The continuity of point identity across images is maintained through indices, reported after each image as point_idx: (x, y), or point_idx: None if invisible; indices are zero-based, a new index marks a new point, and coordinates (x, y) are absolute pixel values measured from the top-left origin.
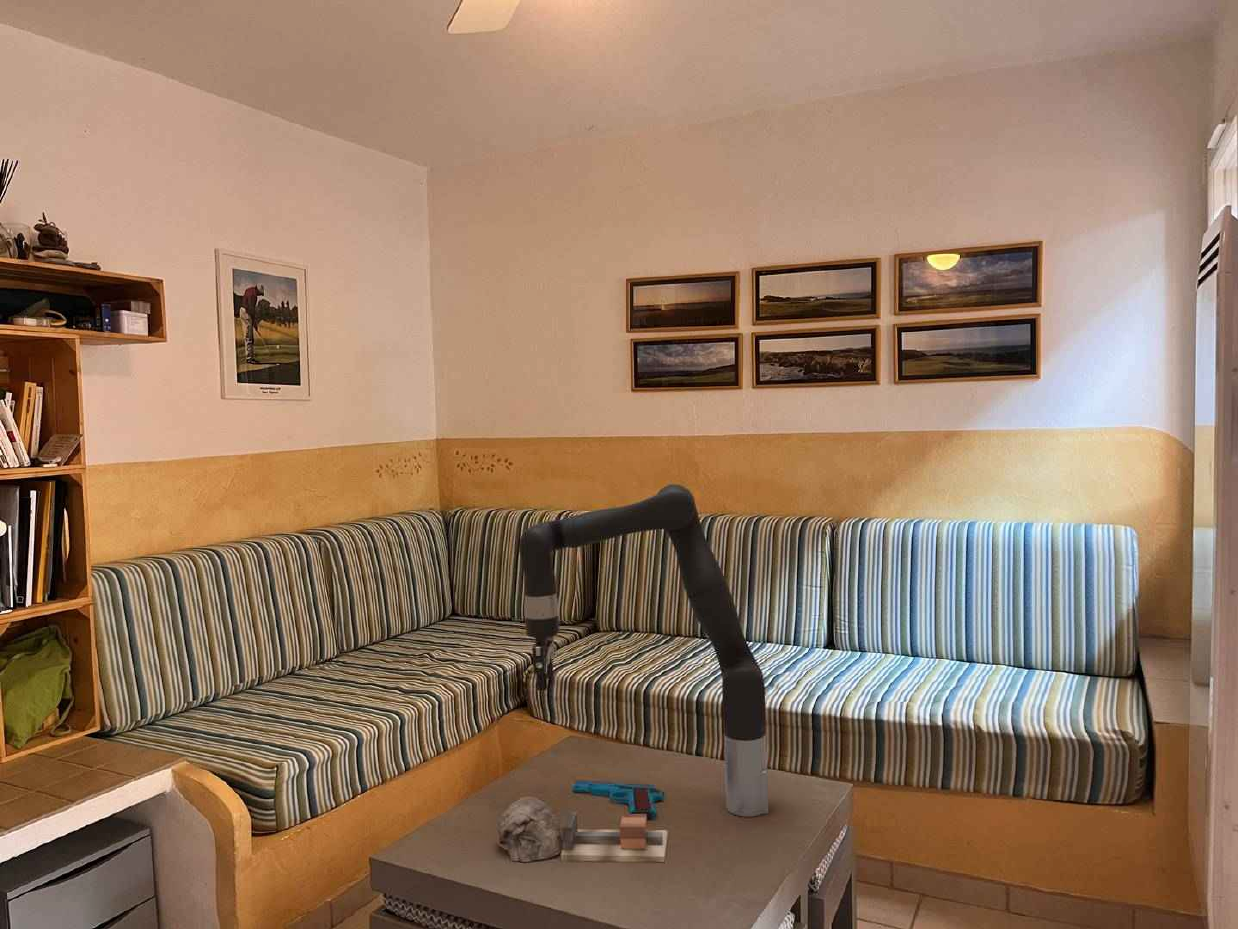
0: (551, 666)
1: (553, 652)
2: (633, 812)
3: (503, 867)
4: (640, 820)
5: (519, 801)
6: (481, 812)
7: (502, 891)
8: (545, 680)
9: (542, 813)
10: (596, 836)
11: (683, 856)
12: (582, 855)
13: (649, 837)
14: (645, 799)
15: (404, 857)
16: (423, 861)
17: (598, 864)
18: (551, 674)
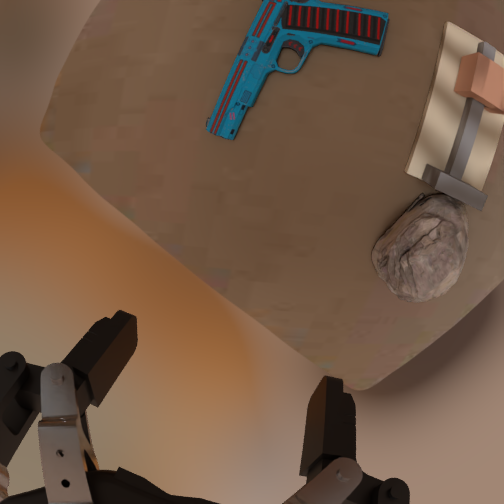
0: (101, 362)
1: (69, 444)
2: (382, 48)
3: None
4: (497, 73)
5: (429, 288)
6: (277, 293)
7: (497, 283)
8: (341, 424)
9: (464, 247)
10: (472, 144)
11: (500, 33)
12: (487, 174)
13: None
14: (340, 15)
15: (371, 374)
16: (391, 359)
17: (496, 152)
18: (125, 331)
